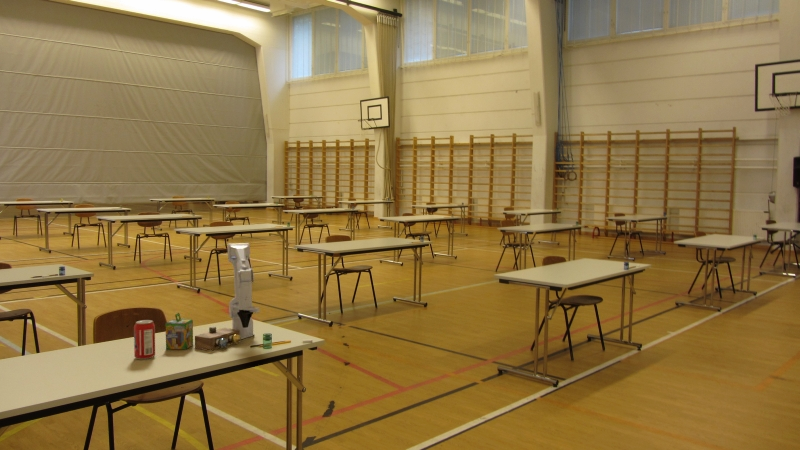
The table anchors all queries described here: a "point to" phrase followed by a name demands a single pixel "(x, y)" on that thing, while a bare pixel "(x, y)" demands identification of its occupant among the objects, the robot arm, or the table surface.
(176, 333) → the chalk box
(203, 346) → the mount
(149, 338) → the soda can
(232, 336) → the knob mustard
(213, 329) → the dial
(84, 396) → the table surface
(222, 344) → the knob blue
